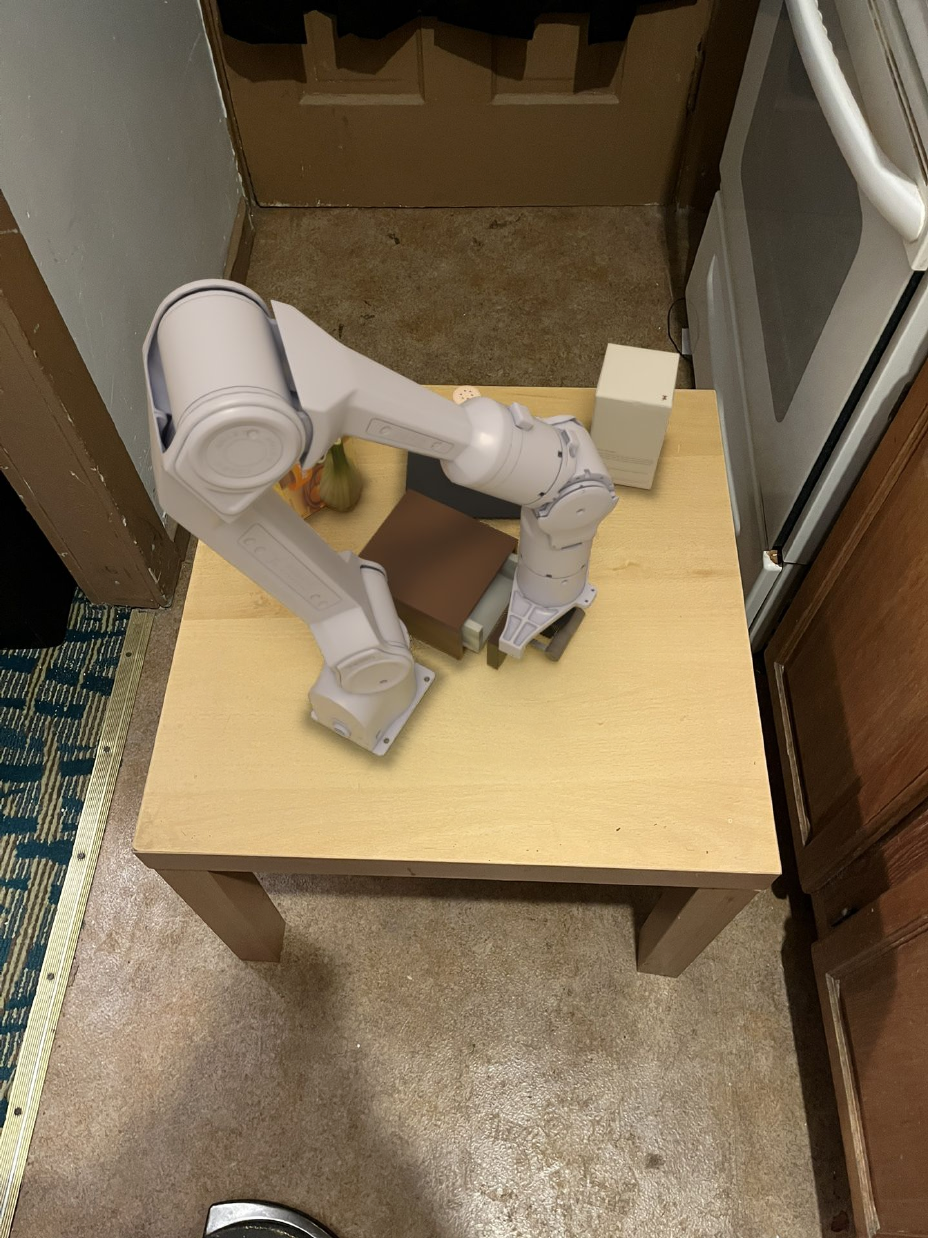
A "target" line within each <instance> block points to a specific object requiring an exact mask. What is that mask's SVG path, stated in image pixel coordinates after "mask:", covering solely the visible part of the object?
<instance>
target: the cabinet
mask: <svg viewBox="0 0 928 1238" xmlns="http://www.w3.org/2000/svg"><path fill="white" fill-rule="evenodd" d="M405 491H406V490H405ZM518 551H519V538H517V537H515V536H513V535H511V534H509V533H506V532H504V531H502V530H500V529H497V528H495V527H493V526H491V525H488V524H487V523H484V522H483V521H481V520H479V519H474V518H472V517H470V516H467V515H465V514H463V513H461V512H459V511H457V510H454V509H452V508H450V507H448V506H446V505H444V504H441V503H439V502H437V501H435V500H433V499H431V498H428V497H426V496H424V495H422V494H420V493H418V492H415V491H413V490H411V489H408V490H407V491H406V493H404V494H403V495H402V497H401V498H400V499H399V501H398V502H397V503H396V505H395V506H394V507H393V508H392V510H391V511H390V512H389V514H388V515H387V517H386V518H385V519H384V521H383V522H382V523H381V524H380V526H379V527H378V528H377V530H376V531H375V532H374V533H373V535H372V537H371V538H370V539H369V541H367V543H366V545H364V547H363V548H362V550H361V551H360V552H359V553H358V555H357V556H358V557H360V558H362V559H364V560H368V561H372V562H375V563H378V564H379V565H381V566H382V567H383V568H384V569H385V571H386V575H387V579H388V581H387V584H388V587H389V590H390V593H391V596H392V599H393V602H394V606H395V609H396V612H397V615H398V618H399V619H400V620H401V621H402V622H403V623H404V625H405V627H406V629H407V631H408V634H409V636H410V637H412V638H415V639H416V640H419V641H421V642H423V643H424V644H427V645H428V646H431V647H432V648H434V649H436V650H438V651H440V652H442V653H444V654H446V655H448V656H449V657H452V658H454V659H456V660H458V661H461V660H462V659H463V658H464V656H465V654H466V653H467V651H468V650H469V648H467V647H465V646H463V643H462V627H463V626H464V624H465V623H466V621H467V620H468V618H469V617H470V615H471V614H472V612H473V611H474V609H475V608H476V606H477V605H478V603H479V601H480V600H481V598H482V597H483V595H484V594H485V592H486V591H487V589H488V588H489V586H490V585H491V583H492V582H493V580H494V579H495V577H496V576H497V574H498V573H499V571H500V570H501V568H502V566H503V565H504V563H505V562H506V560H507V559H508V557H509V556H510V554H511V553H514V554H516V555H518Z"/></svg>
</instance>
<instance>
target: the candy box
mask: <svg viewBox="0 0 928 1238" xmlns="http://www.w3.org/2000/svg"><path fill="white" fill-rule="evenodd" d="M341 438H342V443H343V447H344V452H345V454H346V455H347V456H348V457H349V458H350V459H351V460H352V461H353V463H354V464H355V466H356V467H357V469H358V471H359V466H358V461H357V456H356V455H357V454H356V450H355V444H354V439H353V438H354V437H350V436H342V437H341ZM327 452H328V451H327ZM327 452H326V453H325V454H324V455H323V456H322V458H321V459H320V460H319V461H318V462H317V463H316V464H315V465H314V466H313V467H312V468H311V469H309V470H302V469H301V465H300V462H299V461H298V462H297V463H296V464H295V466H294V467H293V468H292V469H291V470H290V471H289V472H288V473H287V474H286V475H285V476H284V477H283V478H282V479H281V480H279V481H278V482H277V483H276V484H275V485H274V486H273V487H272V488H273V489H274V490H275V491H276V492H277V493H278V494H279V495H280V496H281V497H282V498H283V499H284V500H285V501H286V502H287V503H288V504H289V505H290V506H291V507H292V508H293V509H294V510H295V511H296V512H297V513H298V514H299V515H300V516H301V517H302V518H303V519H304V520H305V519H306V518H308V517H310V516H311V515H313V514H314V513H316V512H317V511H319V510H321V509H323V508H324V507H325V506H326V505H325V504H324V503H323V502H322V501H321V500H320V498H319V485H320V480H321V476H322V472H323V469H324V465H325V460H326V455H327ZM359 472H360V471H359ZM326 507H327V506H326Z"/></svg>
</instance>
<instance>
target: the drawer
mask: <svg viewBox="0 0 928 1238" xmlns="http://www.w3.org/2000/svg"><path fill="white" fill-rule="evenodd" d="M517 565H518V554H517V555H516V554H514V553H511V554H510V556H509V557H508V559H507V560H506V562H505V563H504V565H503V566H502V568H501V570H500V571H499V573H498V574H497V576H496V577H495V579H494V580H493V582H492V583H491V585H490V586H489V588H488V589H487V591H486V592H485V594H484V595H483V597H482V598H481V600H480V601H479V603H478V605H477V606H476V608H475V609H474V611H473V612H472V614H471V615H470V617H469V618H468V620H467V621H466V623H465V624H464V626H463V627H462V643H463V646H465V647H467V648H468V650H471V651H473V652H475V653H477V654H480V653H481V651H482V650H483V649H484V647H485V645H486V665H487V666H489V667H491V668H493V669H495V670H499V669H500V667H501V665H502V664H503V663H504V661H505V659H506V658H507V656H508V654H506V653H505V652H503V651H501V650H499V638H500V636H501V634H502V633H503V631H504V628H505V625H506V621H507V616H508V610H509V604H510V593H511V591H512V587H513V581H514V575H515V571H516V567H517ZM574 608H576V611H575V613H574V614H573V616H572V618H571V619H570V621H569V623H568V624H567V625H566V626H565V627H564V628H563V629H559V628H558V630H557V632H556V633H555V635H554V636H553V638H551V639H550V640H551V641H550V642H549V644H546V643H544V642H542V641H541V640H538V639H536V638H535V637H534V638H533V639H532V640H531V641H529V642H528V644H527V645H528V646H529V647H532V648H534V649H536V650H538V651H540V652H541V653H543V655H544V657H545V658H546V659H547V660H549V661H551V662H553V663H558V662H559V661H560V659H561V658H562V657H563V654H564V653H565V651H566V650H567V648H568V646H569V644H570V642H571V641H572V639H573V637H574V636H575V634H576V632H577V630H578V629H579V627H580V626H581V624H582V622H583V620H584V619H585V617H586V616H587V615H586V612H585V610H584V609H583V608H581V607H578V606H575V607H574Z"/></svg>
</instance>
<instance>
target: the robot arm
mask: <svg viewBox="0 0 928 1238" xmlns="http://www.w3.org/2000/svg"><path fill="white" fill-rule="evenodd" d="M269 301H270V304H271V307H272V311H273V314H274V317H275V318H273V316H272V313H271V311H270V308H269V307H268V305H267V304H266V302H265V301H264V299H263V298H262V297H261V296H260V295H259V294H258V293H256V291H254V290H252V289H251V288H250V287H248V286H246V285H244V284H242V283H239V282H236V281H233V280H228V279H224V278H223V279H222V278H205V279H199V280H194V281H191V282H188V283H185V284H183V285H181V286H179V287H177V288H176V289H174V290H173V291H172V292H170V293H169V294H168V295H167V296H165V298H163V300H162V301H161V303H160V304H159V306H158V308H157V309H156V311H155V314H154V317H153V319H152V321H151V324H150V327H149V329H148V332H147V334H146V337H145V339H144V341H143V344H142V348H141V352H142V362H143V370H144V379H145V387H146V398H147V399H146V400H147V413H148V426H149V427H148V428H149V442H150V456H151V465H152V466H151V467H152V470H153V471H152V472H153V477H154V483H155V486H156V494H157V499H158V504H159V507H160V508H161V509H162V511H164V513H165V514H166V515H168V516H169V517H170V518H172V519H173V520H174V521H175V522H176V523H177V524H179V525H180V526H181V527H183V528H184V529H185V530H187V531H188V532H189V533H190V534H192V535H193V536H194V537H195V538H197V539H198V540H199V541H200V542H202V543H203V544H205V546H207V547H208V548H209V549H211V550H212V551H214V552H215V554H217V555H219V556H220V557H221V558H222V559H224V560H225V561H226V562H228V563H229V564H230V565H231V566H232V567H234V568H235V569H236V570H238V571H239V572H240V573H241V574H242V575H244V576H245V577H246V578H248V579H249V580H250V581H252V582H253V583H254V584H255V585H256V586H258V587H259V588H261V589H262V590H263V591H264V592H266V593H267V594H268V595H269V596H270V597H272V598H273V599H275V600H276V601H277V602H278V603H280V604H281V605H282V606H283V607H284V608H286V609H287V610H288V611H289V612H291V613H292V614H293V615H295V616H296V617H297V618H298V619H300V620H301V621H302V622H304V623H305V624H306V625H307V627H308V629H309V631H310V633H311V635H312V637H313V639H314V642H315V643H316V645H317V647H318V649H319V652H320V653H321V655H322V658H323V663H322V667H321V669H320V672H319V674H318V676H317V679H316V680H315V681H314V683H313V684H312V686H311V688H310V689H309V690H308V693H307V697H308V698H307V699H308V700H309V703H310V705H311V707H312V710H311V713H310V716H311V719H312V720H313V721H315V722H317V723H319V724H321V725H322V726H324V727H325V728H327V729H329V730H331V731H333V732H335V734H338V735H339V736H341V737H343V738H345V739H348V740H349V741H351V742H353V743H354V744H356V745H358V746H359V747H361V748H363V749H365V750H367V751H369V753H370V752H371V753H372V754H374V755H376V756H377V757H383V756H385V755H386V754H387V752H388V751H389V749H390V748H391V746H392V744H393V743H394V742H395V740H396V739H397V737H398V736H399V734H400V732H401V731H402V730H403V728H404V727H405V724H406V723H407V722H408V720H409V719H410V717H411V715H413V712H414V711H415V709H417V706H418V705H419V703H420V702H421V700H422V699H423V697H424V696H425V694H426V693H427V691H428V689H430V687H431V685H432V683H433V682H434V681H435V679H436V673H435V672H434V670H431V669H429V668H428V667H426V666H424V665H422V664H420V663H418V662H416V661H415V659H414V656H413V654H412V647H411V640H410V635H409V634H408V631H407V629H406V627H405V625H404V623H403V622H402V621H401V620H400V619H399V618H398V615H397V612H396V609H395V606H394V602H393V599H392V596H391V593H390V590H389V587H388V584H387V581H388V579H387V575H386V571H385V569H384V568H383V567H382V566H381V565H379V564H378V563H375V562H372V561H368V560H364V559H362V558H360V557H358V555H357V554H356V553H355V552H354V551H353V550H352V549H346V550H341V551H339V552H337V551H336V550H335V549H334V548H333V547H332V546H331V545H330V544H329V543H328V542H327V541H326V540H325V539H324V538H323V537H322V536H321V535H320V534H319V533H318V532H317V531H316V530H315V529H314V528H313V527H312V526H311V525H310V524H309V523H308V522H307V521H305V519H303V518H302V517H301V516H300V515H299V514H298V513H297V512H296V511H295V510H294V509H293V508H292V507H291V506H290V505H289V504H288V503H287V502H286V501H285V500H284V499H283V498H282V497H281V496H280V495H279V494H278V493H277V492H276V491H275V490H274V489H273V488H272V487H273V486H274V485H275V484H276V483H277V482H278V481H279V480H281V479H282V478H283V477H284V476H285V475H286V474H287V473H288V472H289V471H290V470H291V469H292V468H293V467H294V466H295V464H296V463H297V462H298V461H299V462H300V465H301V469H302V470H309V469H311V468H312V467H313V466H314V465H315V464H316V463H317V462H318V461H319V460H320V459H321V458H322V456H323V455H324V454H325V453H326V452H327V451H328V450H329V449H330V448H331V447H332V446H333V444H334V443H335V442H336V441H337V440H338V439H339V438H340V437H342V436H350V437H352V438H354V439H358V440H362V441H366V442H370V443H373V444H378V445H382V446H386V447H389V448H390V447H391V448H393V449H398V450H402V451H406V452H408V451H410V452H414V453H418V454H421V455H425V456H429V457H433V458H437V459H440V463H441V466H442V469H443V471H444V473H445V475H446V476H447V477H448V478H449V479H450V480H451V481H452V482H454V483H455V484H458V485H461V486H464V487H467V488H470V489H473V490H476V491H479V492H482V493H485V494H488V495H491V496H494V497H497V498H500V499H503V500H506V501H509V502H512V503H515V504H518V505H521V506H522V509H521V519H520V523H519V537H518V554H517V555H518V565H517V567H516V571H515V575H514V581H513V587H512V591H511V593H510V604H509V607H508V608H509V610H508V616H507V621H506V625H505V628H504V631H503V633H502V634H501V636H500V638H499V650H501V651H503V652H505V653H506V654H507V656H510V657H513V658H515V659H517V660H521V659H522V658H523V656H524V654H525V652H526V646H527V645H528V642H529V641H531V640H532V639H533V638H534V639H535V637H537V636H538V635H540V636H542V637H544V638H545V639H548V640H552V639H553V637H554V635H555V634H556V632H557V630H558V629H563V628H564V627H565V626H566V625H567V624H568V623H569V621H570V619H571V618H572V616H573V614H574V613H575V611H576V608H574V607H575V606H577V607H580V608H581V609H583V610H584V609H585V610H587V609H589V608H590V607H591V606H592V605H593V603H594V601H595V599H596V597H597V594H598V588H597V587H596V586H595V585H593V584H591V583H590V582H589V571H590V563H591V557H592V556H591V554H592V548H593V543H594V538H595V537H596V535H597V533H598V528H599V525H600V524H601V522H602V521H603V520H604V519H606V518H607V517H608V516H609V515H610V514H611V513H612V512H613V510H614V509H615V507H616V506H617V504H618V503H619V500H620V496H617V494H616V493H615V484H614V483H613V481H612V479H611V477H610V475H609V473H608V471H607V469H606V467H605V465H604V463H603V461H602V459H601V457H600V455H599V453H598V451H597V449H596V447H595V445H594V443H593V441H592V439H591V437H590V432H589V431H588V430H587V429H586V428H585V426H584V424H583V423H582V422H581V421H580V420H579V419H577V418H576V416H575V415H573V414H558V415H553V416H549V417H540V416H538V415H536V416H535V417H534V416H532V415H531V412H530V410H529V408H528V406H526V405H524V404H521V403H519V402H517V401H513V402H512V403H511V404H510V405H507V404H504V403H502V402H499V401H497V400H495V399H493V398H491V397H489V396H485V395H484V396H483V395H481V396H478V397H473V398H470V399H468V400H466V401H464V402H462V403H461V404H460V405H458V404H456V403H454V402H453V400H450V399H448V398H446V397H444V396H443V395H440V394H439V393H437V392H435V391H433V390H430V389H429V388H427V387H426V386H424V385H422V384H419V383H417V382H416V381H413V380H412V379H410V378H408V377H406V376H404V375H402V374H400V373H399V372H396V371H394V370H392V369H391V368H388V367H387V366H384V365H382V364H381V363H379V362H377V361H375V360H373V359H371V358H370V357H368V356H366V355H364V354H361V353H360V352H358V351H356V350H354V349H352V348H350V347H348V346H346V345H344V344H343V343H341V342H340V341H338V340H337V339H335V338H334V337H333V336H332V335H331V334H329V333H328V332H327V331H325V330H324V329H323V328H321V326H319V325H318V324H316V323H315V322H314V321H313V320H311V319H310V318H309V317H308V316H306V315H305V314H303V313H302V312H301V311H300V310H299V309H297V308H296V307H295V306H293V305H291V304H288V303H284V302H281V301H278V300H274V299H270V300H269ZM427 679H428V681H426V680H427ZM386 740H388V742H385V741H386Z"/></svg>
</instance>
